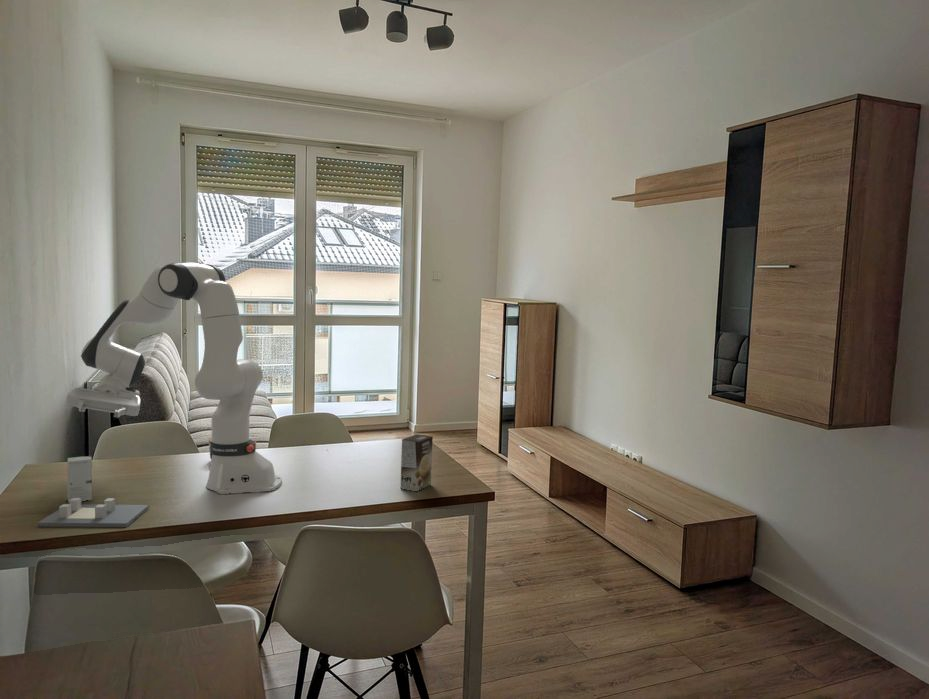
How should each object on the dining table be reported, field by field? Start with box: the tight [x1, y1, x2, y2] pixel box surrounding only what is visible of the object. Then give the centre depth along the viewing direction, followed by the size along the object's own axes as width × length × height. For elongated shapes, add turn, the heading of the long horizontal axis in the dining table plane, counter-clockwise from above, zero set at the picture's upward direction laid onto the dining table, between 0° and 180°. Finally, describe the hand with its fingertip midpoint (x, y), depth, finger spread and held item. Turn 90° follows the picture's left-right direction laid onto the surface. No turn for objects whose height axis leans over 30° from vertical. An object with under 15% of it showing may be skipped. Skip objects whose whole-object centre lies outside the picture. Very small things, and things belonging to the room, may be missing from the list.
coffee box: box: [400, 434, 433, 492], centre depth 208 cm, size 9×6×16 cm
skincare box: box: [66, 455, 93, 504], centre depth 187 cm, size 6×4×12 cm
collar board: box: [37, 497, 150, 528], centre depth 175 cm, size 22×14×4 cm, turn 94°
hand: (99, 412), depth 196 cm, fingers open, 8 cm apart
